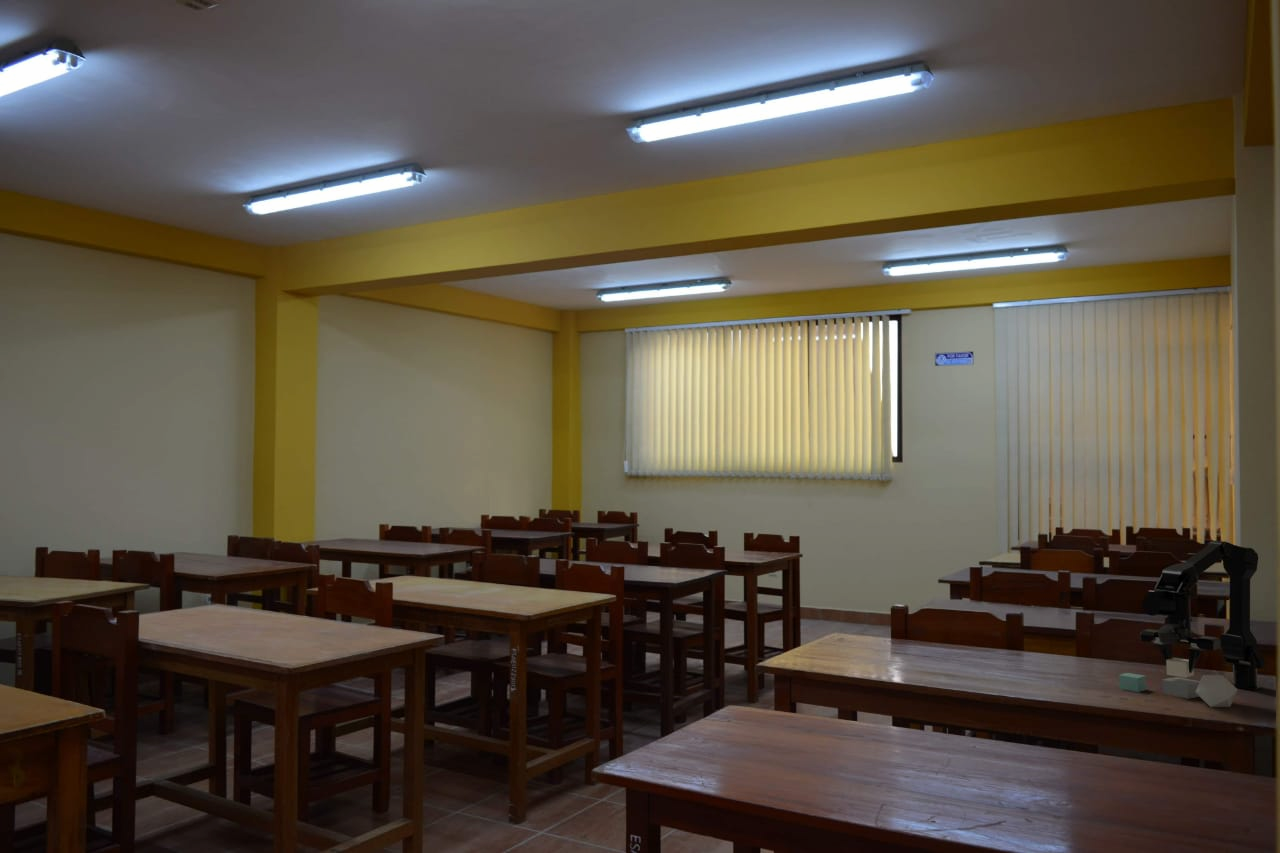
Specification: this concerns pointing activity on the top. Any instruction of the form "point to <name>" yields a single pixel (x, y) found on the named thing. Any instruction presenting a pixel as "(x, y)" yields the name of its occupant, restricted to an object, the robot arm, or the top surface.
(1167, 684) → the base block
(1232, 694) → the die
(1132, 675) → the teal brick
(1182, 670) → the cream brick
